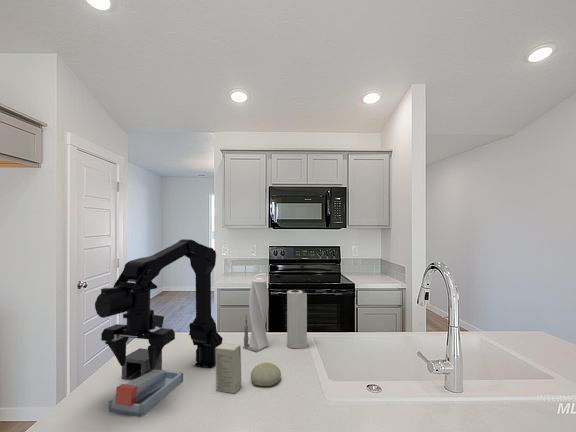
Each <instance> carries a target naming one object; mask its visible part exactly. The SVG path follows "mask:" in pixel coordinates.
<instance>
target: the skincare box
mask: <svg viewBox="0 0 576 432" xmlns="http://www.w3.org/2000/svg"><path fill="white" fill-rule="evenodd" d="M241 349H242V347H241V344H235V343H224V342H222V344H221V345H219V346H218V347H216V348H215V351H216V364H215V390H216V391H218V392H225V393H230V394H235V393H237V392H238V390H240V389H241V388H242V355H241V354H242V353H241V352H242V351H241Z"/></svg>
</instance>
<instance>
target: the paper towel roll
mask: <svg viewBox="0 0 576 432" xmlns="http://www.w3.org/2000/svg"><path fill="white" fill-rule="evenodd" d="M286 293H287V295H286V300H287V301H286V303H287V304H286V305H287V306H286V307H287V308H286V310H287V311H286V313H287V314H286V315H287V316H286V332H287V333H286V335H287V336H286V337H287V338H286V339H287V340H286V345H287V347H288V348H289V349H290V348H291V349H307V348H308V345H307V344H308V335H307V334H308V330H307V329H308V314H307V313H308V309H307V308H308V306H307V305H308V303H307V302H308V295H307V294H308V293H307V292H303V291H302V290H299V289H292V290H287V291H286Z"/></svg>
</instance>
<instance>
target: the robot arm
mask: <svg viewBox="0 0 576 432" xmlns="http://www.w3.org/2000/svg"><path fill="white" fill-rule="evenodd" d="M183 257H186V258H187V259H189V262H190V268H191V269H192V270H193V272H194V275H195V318H194V319H193V321H192V322H190V323H189V325H188V326H189V333H188V336H190V339H191V341H192V344H193V346H196V349H195V363H194V367H200V368H202V367H203V368H209V369H211V368H214V367H215V366H216V351H215V348H216V347H218V346H219V345H221V344H222V343H223V340H224V339H223V336H222V335H220V334H219V333H218V332H217V323H216V322H215V320H214V318H213V316H212V280H211V279H212V278H211V277H212V276H211V275H212V272H213V270H214V268H215V267H216V262H217V261H216V259H217V252H216V250H215V249H214V248H213V247H209V246H206V245H204V244H202V243H199V242H198V241H195V240H193V239H185V238H183V239H180V240H179V241H177V242H176V243H174V244H172V245H170V246H168V247H165V248H164V249H163V250H160V251H158V252H156V253H155V254H153V255H150V256H145V257H139V258H135V259H132V260H130V261H127V262H126V263H125V264H124V267H123V270H122V271H121V274H120V275H119V276H118V278H117V280H116V282H114V284H113V287H103V288H101V289H100V294H99V295H98V296H97V298H96V300H95V302H94V309H95V313H96V314H97V316H98V317H100V318H102V319H103V318H109V317H111V316H117V315H119V314H122V318H123V319H126V324H120V323H116V324H113V325H111V326H109V327H105V328H104V329H103V330H102V332H101V334H100V335H101V341H103V342H104V343H105V345H107V346H108V347H109V348H110V350H111V352H112V353H113V355H114V356H115V357H116V361H117V362H118V363H119V365H120V366H121V367H122V366H124V365H125V361H126V356H127V343H128V342H129V341H128V340H129V338H132V339H139V340H141V339H142V340H148V344H149V346H147V349H148V354H149V362H150V368H151V370H153V369H155V366H156V364H157V361H158V358H159V355H160V353H161V351H162V352H163V349H164V347H165V346H166V345H168V344H170V343H171V342H172V341H174V340H175V339H176V333H175V330H174V329H173V328H165V327H164V328H163V325H164V321H165V316H162V315H158V314H157V315H156V314H155V311H154V309H151V290H155V289H158V286H157V284H155V283H154V282H153V280H154V279H156V277H157V276H159V274H160V272H161V270H163V269H164V268H165V267H167V266H169V265H171V264H172V263H174V262H176V261H178V260H179V259H181V258H183ZM156 327H158V328H159V329H157V330H155V329H156ZM152 330H153V331H152ZM154 330H155V331H154Z"/></svg>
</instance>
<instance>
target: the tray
mask: <svg viewBox="0 0 576 432" xmlns="http://www.w3.org/2000/svg"><path fill="white" fill-rule="evenodd" d="M155 370H156V369H155ZM162 370H163V369H162ZM163 371H166V379H165V385H164V386H162V387H160V388H159V389H157V390H155V391H154V392H152V393H150V394H149V395H147V396H145V397H144V398H142V399H140V400H138V401H137V402H136V403H135V404H133V405H131V406H126V405H119V404H115V400H116V396H115V397H113V398H112V399H110V400H109V401H108V412H111V413H118V414H123V415H128V416H135V417H143V416H144V415H145V414H146V413H148V412H149V411H150V410H151V409H152V408H154V407H155V406H156V405H157V404H159V402H161V401H162V399H164V398H165V397H166V396H168V395H169V394H170V393H171V392H172V391H174V389H176V388H177V387H178V386H179V385H181V384H182V383H183V382H184V372H178V371H170V370H163Z"/></svg>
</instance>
